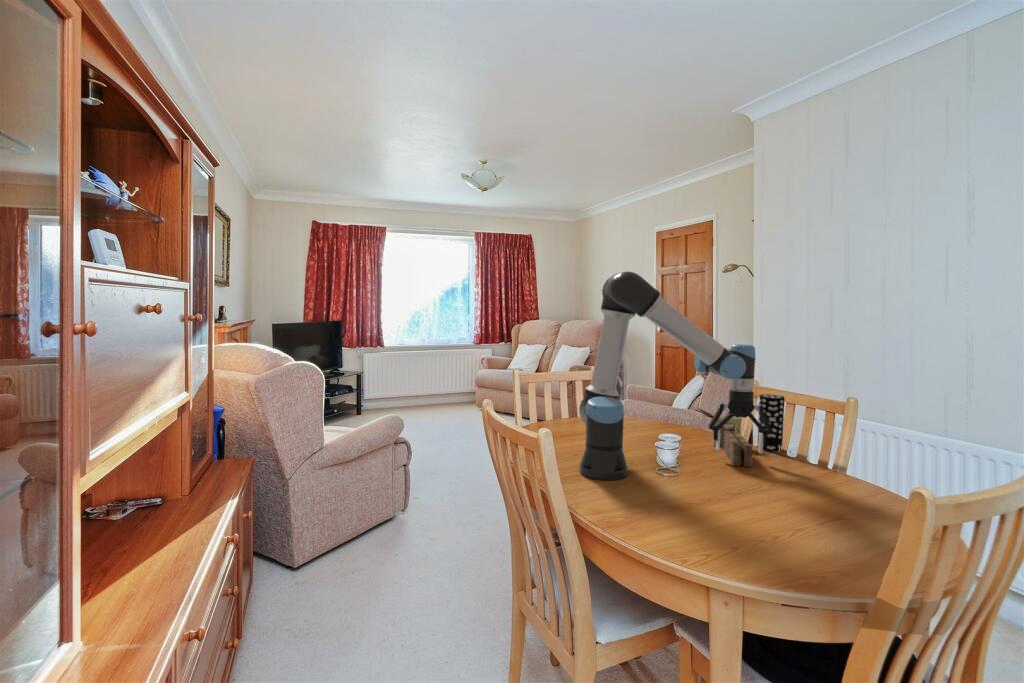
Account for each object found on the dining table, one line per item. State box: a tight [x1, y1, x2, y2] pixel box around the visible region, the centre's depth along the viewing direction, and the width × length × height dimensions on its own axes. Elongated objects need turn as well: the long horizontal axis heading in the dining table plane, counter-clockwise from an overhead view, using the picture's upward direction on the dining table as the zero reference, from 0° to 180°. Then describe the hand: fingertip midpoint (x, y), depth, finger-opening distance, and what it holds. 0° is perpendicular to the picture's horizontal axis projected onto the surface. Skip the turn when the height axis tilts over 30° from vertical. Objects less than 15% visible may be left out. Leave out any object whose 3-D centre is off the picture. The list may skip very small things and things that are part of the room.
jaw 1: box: [723, 431, 741, 467], centre depth 180 cm, size 20×2×7 cm, turn 166°
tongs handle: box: [719, 425, 735, 449], centre depth 195 cm, size 11×4×8 cm, turn 168°
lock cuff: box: [712, 416, 742, 446], centre depth 197 cm, size 3×9×11 cm, turn 78°
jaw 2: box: [731, 431, 753, 468], centre depth 180 cm, size 20×2×7 cm, turn 170°
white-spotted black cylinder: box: [756, 393, 786, 453], centre depth 192 cm, size 8×8×20 cm
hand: (738, 451), depth 176 cm, fingers open, 13 cm apart
